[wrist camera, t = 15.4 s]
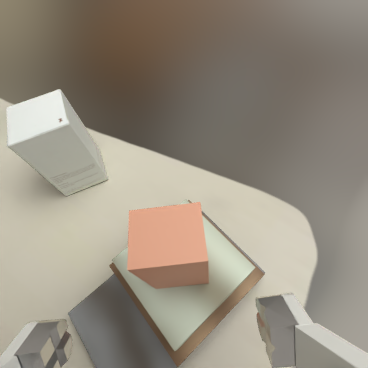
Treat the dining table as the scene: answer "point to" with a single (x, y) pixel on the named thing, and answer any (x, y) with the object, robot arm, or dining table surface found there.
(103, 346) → the build plinth
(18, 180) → the dining table surface
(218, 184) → the dining table surface
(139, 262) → the block
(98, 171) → the supplement box
